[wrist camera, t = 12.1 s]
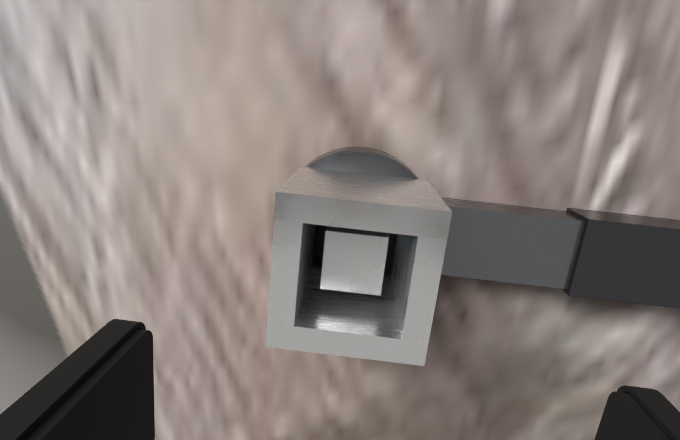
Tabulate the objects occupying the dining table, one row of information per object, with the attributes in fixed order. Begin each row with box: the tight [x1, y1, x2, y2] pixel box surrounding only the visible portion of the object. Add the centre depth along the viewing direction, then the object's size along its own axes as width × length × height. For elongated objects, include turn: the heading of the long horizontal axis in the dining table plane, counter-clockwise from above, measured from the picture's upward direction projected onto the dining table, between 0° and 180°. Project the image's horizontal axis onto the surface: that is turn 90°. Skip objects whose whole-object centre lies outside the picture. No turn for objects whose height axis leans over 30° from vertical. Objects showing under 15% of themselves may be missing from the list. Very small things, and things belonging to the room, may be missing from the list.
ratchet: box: [306, 147, 680, 308], centre depth 20 cm, size 24×8×6 cm, turn 84°
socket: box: [266, 166, 452, 366], centre depth 18 cm, size 6×6×6 cm
